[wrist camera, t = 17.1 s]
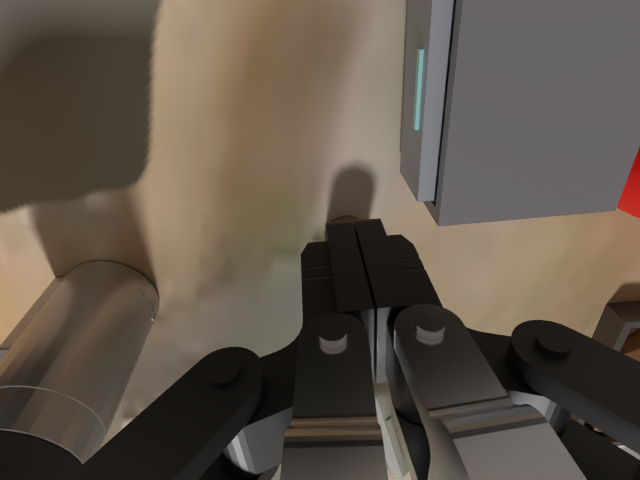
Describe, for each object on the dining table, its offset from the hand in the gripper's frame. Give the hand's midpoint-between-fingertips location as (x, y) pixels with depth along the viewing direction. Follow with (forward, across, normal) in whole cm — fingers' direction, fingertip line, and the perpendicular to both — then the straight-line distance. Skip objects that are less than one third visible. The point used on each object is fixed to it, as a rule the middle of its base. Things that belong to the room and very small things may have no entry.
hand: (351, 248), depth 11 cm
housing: (+23, -14, 0) cm, 27 cm away
